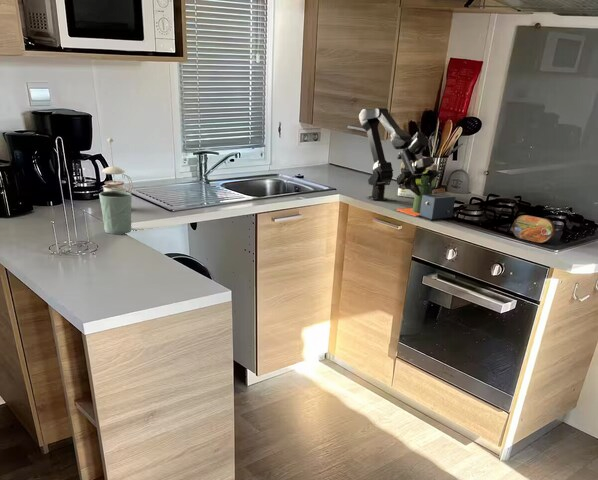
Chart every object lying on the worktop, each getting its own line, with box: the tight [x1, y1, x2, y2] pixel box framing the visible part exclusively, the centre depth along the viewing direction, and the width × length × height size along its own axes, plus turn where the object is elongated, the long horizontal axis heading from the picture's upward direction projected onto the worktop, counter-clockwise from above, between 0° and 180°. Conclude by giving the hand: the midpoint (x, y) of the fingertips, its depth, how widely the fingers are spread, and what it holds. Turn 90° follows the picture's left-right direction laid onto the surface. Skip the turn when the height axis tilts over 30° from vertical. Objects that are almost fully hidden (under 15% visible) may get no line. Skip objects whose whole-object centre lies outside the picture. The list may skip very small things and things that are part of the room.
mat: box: [396, 207, 420, 217], centre depth 251 cm, size 12×14×1 cm
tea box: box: [397, 162, 439, 199], centre depth 278 cm, size 15×10×15 cm, turn 65°
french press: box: [101, 137, 133, 193], centre depth 223 cm, size 10×12×25 cm
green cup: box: [98, 191, 133, 235], centre depth 198 cm, size 10×10×12 cm
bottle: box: [412, 176, 432, 213], centre depth 247 cm, size 6×6×14 cm
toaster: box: [418, 192, 456, 222], centre depth 242 cm, size 8×12×9 cm, turn 122°
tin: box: [512, 214, 556, 244], centre depth 217 cm, size 15×3×8 cm, turn 45°
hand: (425, 194), depth 246 cm, fingers closed on bottle, 6 cm apart
